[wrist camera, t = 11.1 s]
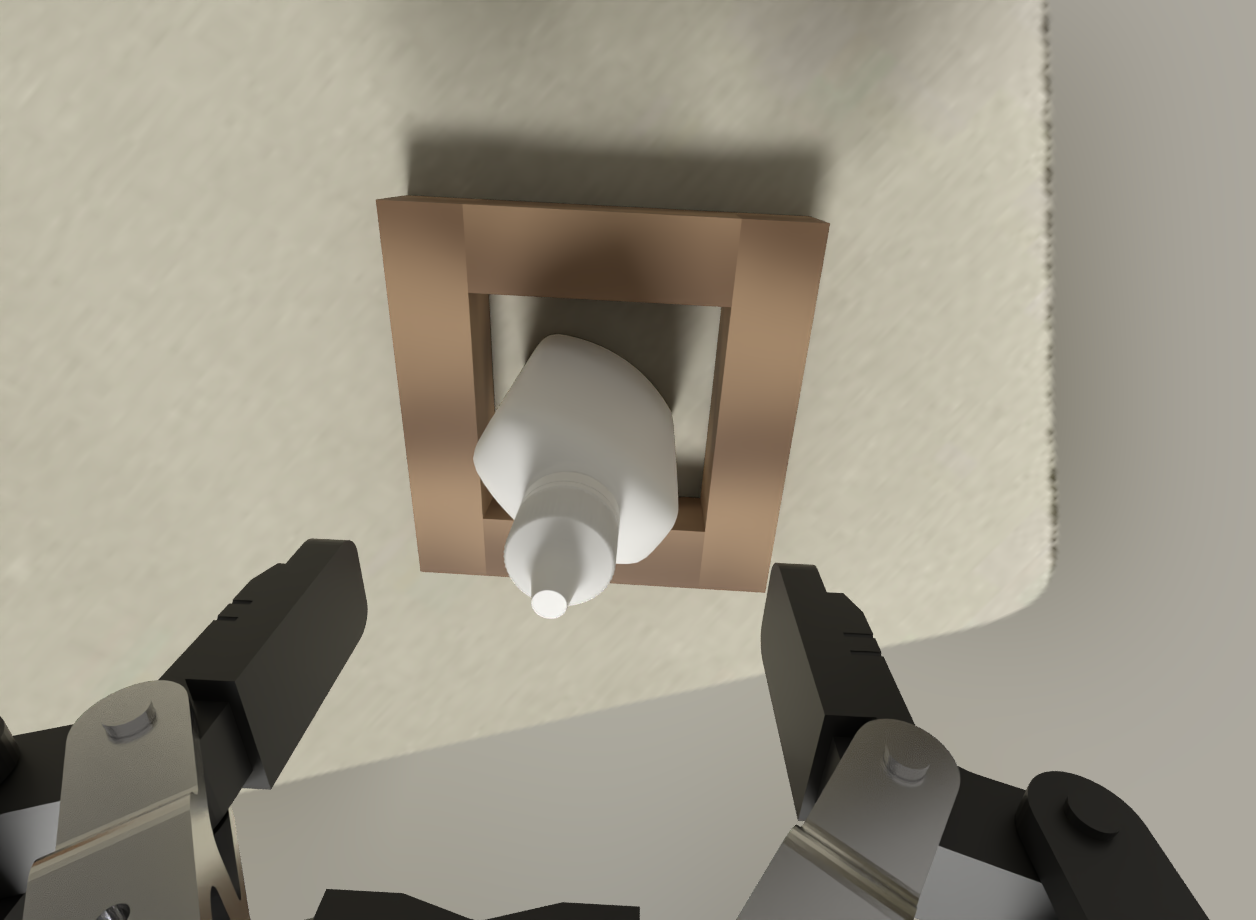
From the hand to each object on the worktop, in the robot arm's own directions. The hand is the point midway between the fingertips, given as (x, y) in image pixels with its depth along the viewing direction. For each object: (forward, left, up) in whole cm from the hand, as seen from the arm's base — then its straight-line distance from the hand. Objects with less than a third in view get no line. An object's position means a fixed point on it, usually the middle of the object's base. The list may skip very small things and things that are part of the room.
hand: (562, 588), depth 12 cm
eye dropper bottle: (0, 0, -12) cm, 12 cm away
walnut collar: (0, 0, -12) cm, 12 cm away
